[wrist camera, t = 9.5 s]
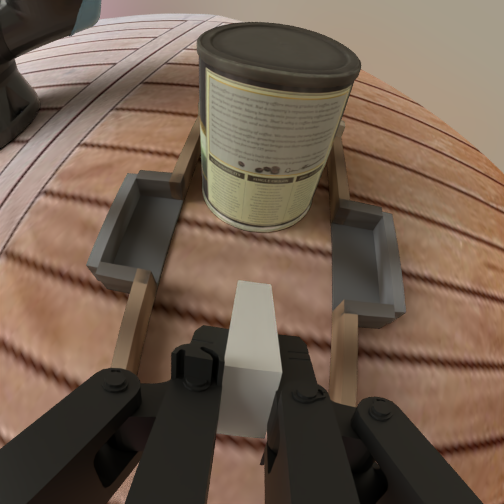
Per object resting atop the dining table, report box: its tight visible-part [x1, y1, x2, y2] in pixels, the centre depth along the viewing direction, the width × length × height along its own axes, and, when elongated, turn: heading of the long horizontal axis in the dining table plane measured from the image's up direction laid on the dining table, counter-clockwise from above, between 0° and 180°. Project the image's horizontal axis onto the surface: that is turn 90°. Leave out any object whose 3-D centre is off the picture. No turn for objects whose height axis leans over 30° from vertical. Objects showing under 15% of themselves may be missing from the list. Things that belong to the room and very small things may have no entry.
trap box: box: [86, 103, 406, 407], centre depth 22 cm, size 28×23×4 cm
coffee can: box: [197, 22, 361, 232], centre depth 21 cm, size 10×10×14 cm
